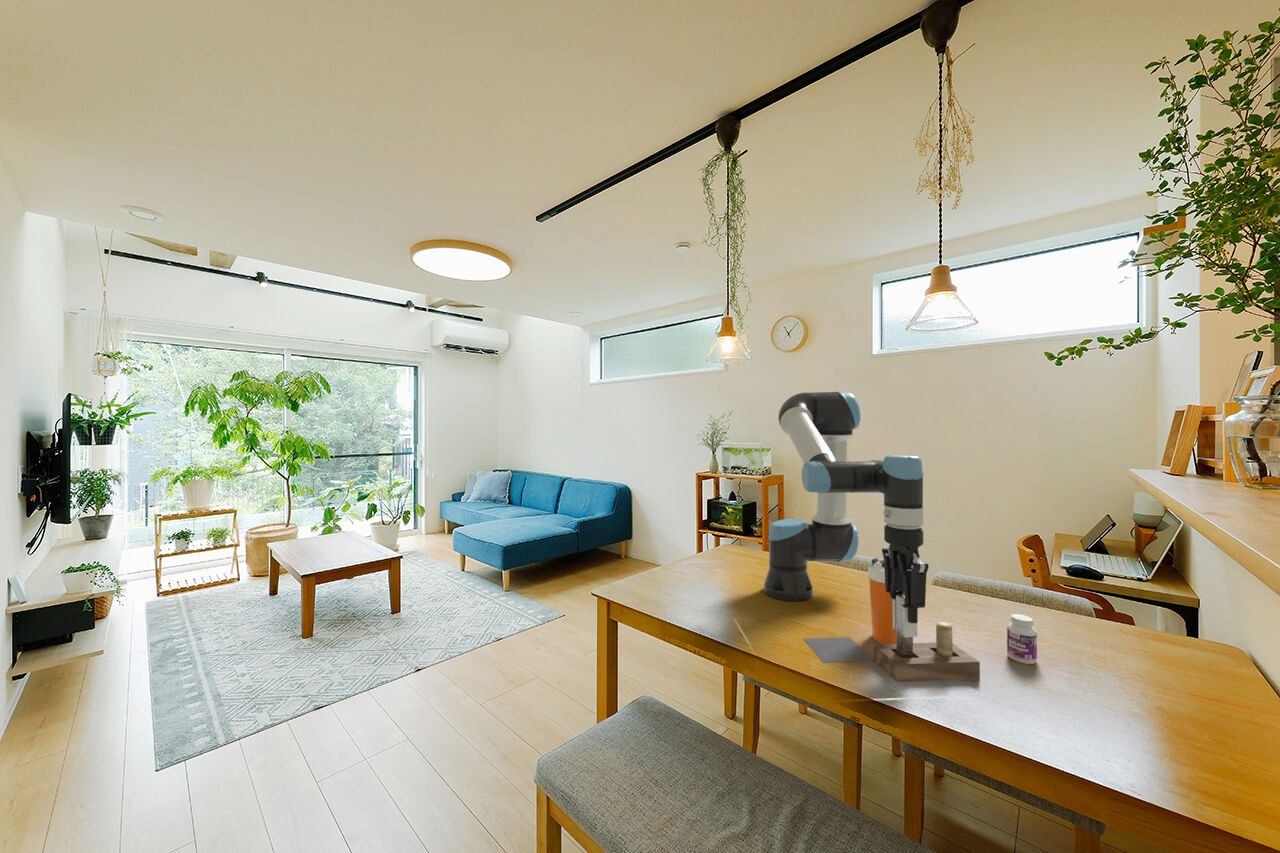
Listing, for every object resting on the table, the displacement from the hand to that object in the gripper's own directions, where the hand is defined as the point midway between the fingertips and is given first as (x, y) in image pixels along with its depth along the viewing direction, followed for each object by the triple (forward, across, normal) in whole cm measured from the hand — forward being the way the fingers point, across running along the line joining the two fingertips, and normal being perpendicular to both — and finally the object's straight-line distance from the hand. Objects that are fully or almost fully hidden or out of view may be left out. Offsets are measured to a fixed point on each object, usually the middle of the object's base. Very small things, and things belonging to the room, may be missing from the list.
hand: (904, 632), depth 103 cm
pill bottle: (+9, -4, +30) cm, 32 cm away
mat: (+9, -10, -10) cm, 17 cm away
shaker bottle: (+9, -15, +5) cm, 18 cm away
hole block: (+9, 0, +4) cm, 10 cm away
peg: (+4, 0, 0) cm, 4 cm away
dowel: (+9, 0, +9) cm, 13 cm away
